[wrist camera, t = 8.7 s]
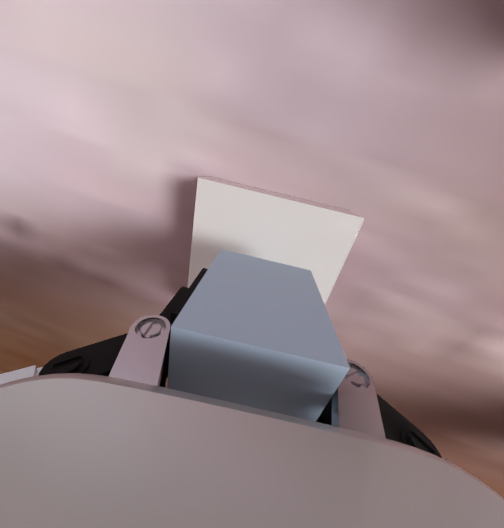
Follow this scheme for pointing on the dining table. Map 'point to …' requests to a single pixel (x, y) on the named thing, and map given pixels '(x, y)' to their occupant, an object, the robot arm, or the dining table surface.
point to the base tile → (270, 230)
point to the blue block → (257, 338)
